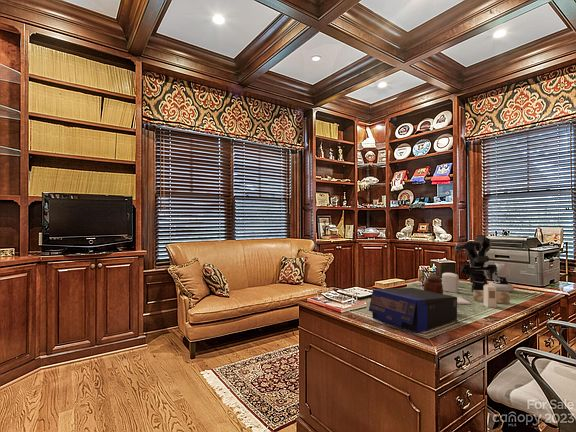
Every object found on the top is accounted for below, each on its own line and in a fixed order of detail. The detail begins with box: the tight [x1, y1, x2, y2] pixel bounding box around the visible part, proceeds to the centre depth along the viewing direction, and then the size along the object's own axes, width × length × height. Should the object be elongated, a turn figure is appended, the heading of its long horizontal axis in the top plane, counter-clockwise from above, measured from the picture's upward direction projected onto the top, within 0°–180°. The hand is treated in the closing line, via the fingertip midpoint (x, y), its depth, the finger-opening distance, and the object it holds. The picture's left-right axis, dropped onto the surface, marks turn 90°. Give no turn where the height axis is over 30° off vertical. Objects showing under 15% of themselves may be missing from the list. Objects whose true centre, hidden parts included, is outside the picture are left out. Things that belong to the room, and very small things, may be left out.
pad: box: [456, 296, 472, 305], centre depth 186 cm, size 12×12×1 cm
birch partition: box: [473, 290, 511, 304], centre depth 185 cm, size 18×2×6 cm, turn 71°
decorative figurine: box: [487, 261, 515, 293], centre depth 215 cm, size 15×15×20 cm
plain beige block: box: [483, 284, 497, 308], centre depth 176 cm, size 4×5×11 cm
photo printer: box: [441, 272, 460, 294], centre depth 210 cm, size 10×4×12 cm, turn 39°
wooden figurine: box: [423, 274, 444, 294], centre depth 171 cm, size 12×6×18 cm, turn 32°
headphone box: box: [368, 287, 458, 334], centre depth 153 cm, size 25×35×14 cm
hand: (483, 280), depth 183 cm, fingers open, 9 cm apart
